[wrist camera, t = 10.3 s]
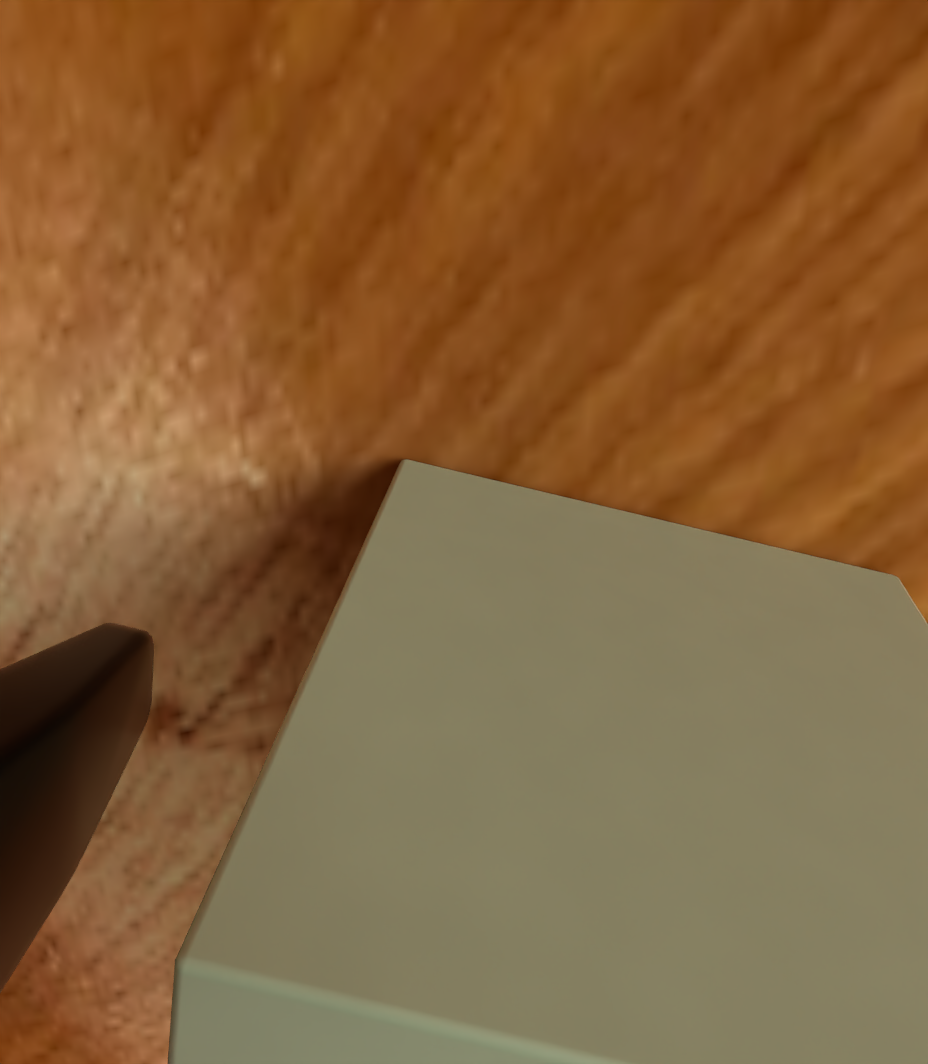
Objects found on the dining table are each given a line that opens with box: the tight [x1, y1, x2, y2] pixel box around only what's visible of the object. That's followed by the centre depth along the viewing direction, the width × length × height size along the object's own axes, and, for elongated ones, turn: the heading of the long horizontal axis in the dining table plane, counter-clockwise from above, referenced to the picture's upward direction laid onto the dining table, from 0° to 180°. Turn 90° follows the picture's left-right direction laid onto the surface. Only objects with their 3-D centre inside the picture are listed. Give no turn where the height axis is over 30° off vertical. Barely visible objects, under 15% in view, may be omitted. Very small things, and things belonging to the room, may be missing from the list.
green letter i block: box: [168, 459, 928, 1064], centre depth 7 cm, size 4×4×5 cm
